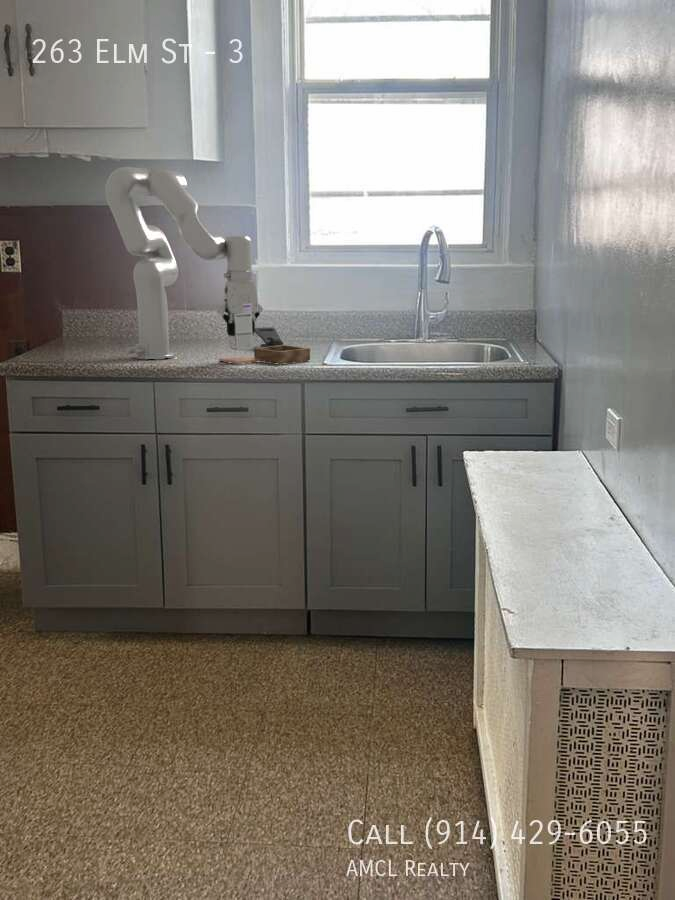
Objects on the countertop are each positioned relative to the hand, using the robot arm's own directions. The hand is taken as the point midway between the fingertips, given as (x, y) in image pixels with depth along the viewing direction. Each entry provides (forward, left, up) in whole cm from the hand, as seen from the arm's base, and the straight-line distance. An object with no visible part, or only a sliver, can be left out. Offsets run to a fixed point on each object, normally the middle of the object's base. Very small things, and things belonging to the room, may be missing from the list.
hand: (241, 334), depth 327 cm
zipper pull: (+24, +14, -9) cm, 29 cm away
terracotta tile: (0, 0, -9) cm, 9 cm away
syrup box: (0, 0, -5) cm, 5 cm away
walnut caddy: (+10, -8, -9) cm, 15 cm away
